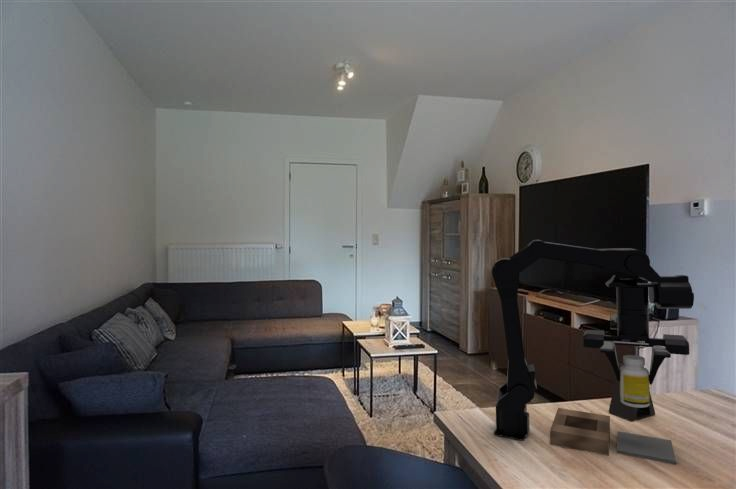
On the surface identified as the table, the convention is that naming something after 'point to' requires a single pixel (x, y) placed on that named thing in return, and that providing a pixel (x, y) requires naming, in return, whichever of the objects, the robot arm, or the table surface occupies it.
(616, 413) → the phone stand
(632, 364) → the supplement bottle
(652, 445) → the coaster
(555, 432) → the pocket holder
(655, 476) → the table surface
